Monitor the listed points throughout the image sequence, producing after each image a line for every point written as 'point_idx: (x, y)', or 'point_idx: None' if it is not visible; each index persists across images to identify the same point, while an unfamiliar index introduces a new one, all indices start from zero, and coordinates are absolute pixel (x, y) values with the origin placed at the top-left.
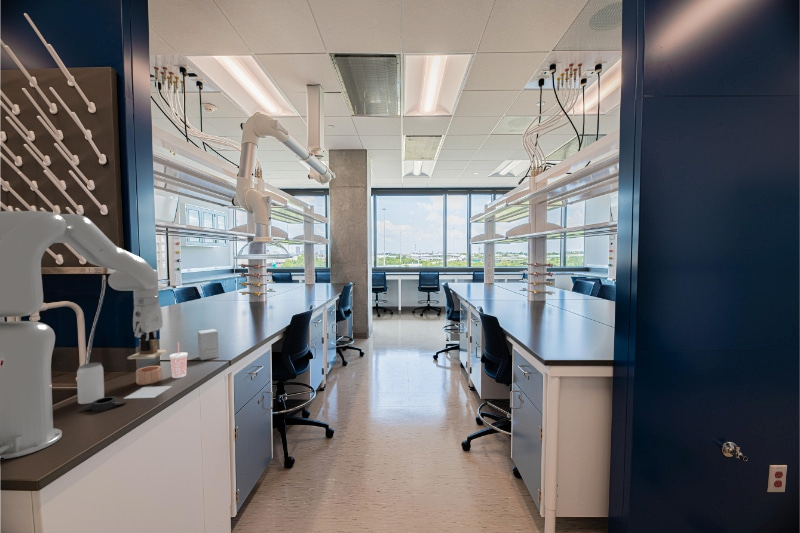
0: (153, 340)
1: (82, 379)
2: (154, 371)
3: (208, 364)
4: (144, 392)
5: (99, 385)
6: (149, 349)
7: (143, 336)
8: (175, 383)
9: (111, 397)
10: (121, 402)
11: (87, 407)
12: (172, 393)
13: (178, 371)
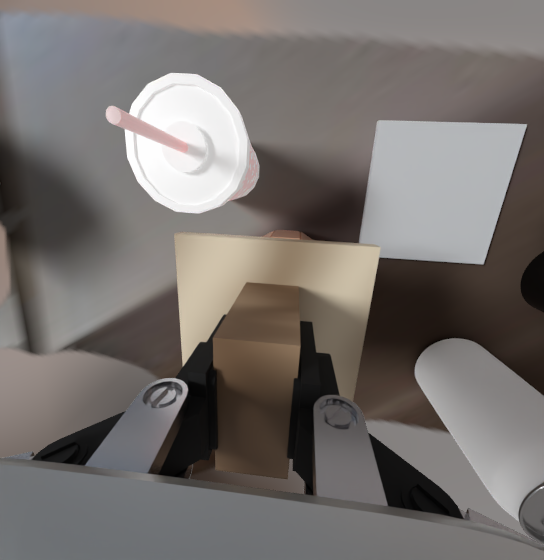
0: (280, 347)
1: None
2: None
3: (52, 108)
4: (435, 212)
5: (511, 374)
6: (311, 325)
7: (437, 496)
8: (324, 136)
9: None
10: None
11: None
12: (474, 66)
13: (252, 150)
